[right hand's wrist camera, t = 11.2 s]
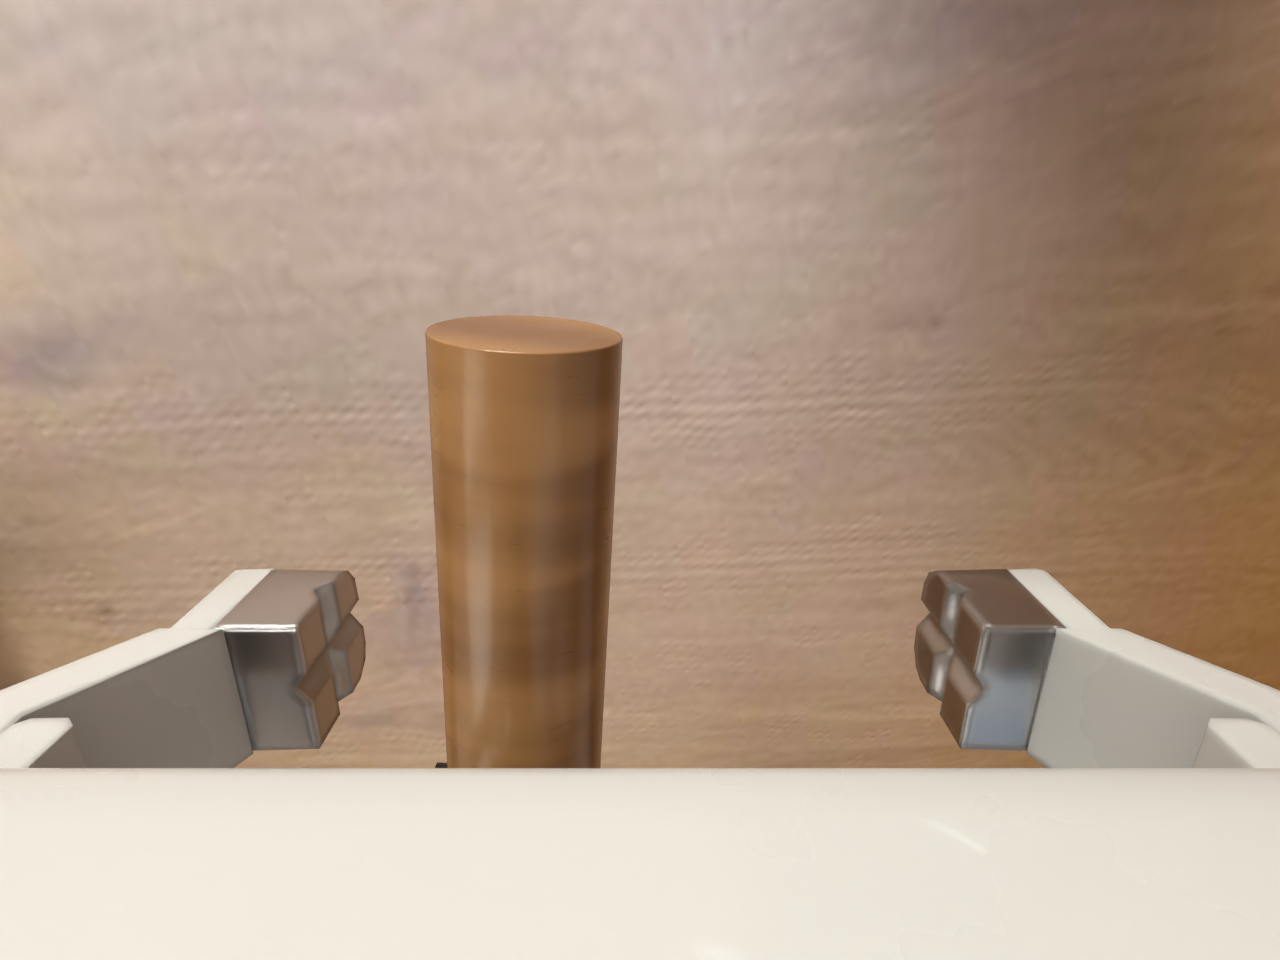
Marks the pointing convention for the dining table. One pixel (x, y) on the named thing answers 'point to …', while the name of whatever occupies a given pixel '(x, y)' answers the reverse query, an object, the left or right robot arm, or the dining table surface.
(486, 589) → the cylinder
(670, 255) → the dining table surface
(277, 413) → the dining table surface
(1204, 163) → the dining table surface
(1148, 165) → the dining table surface
